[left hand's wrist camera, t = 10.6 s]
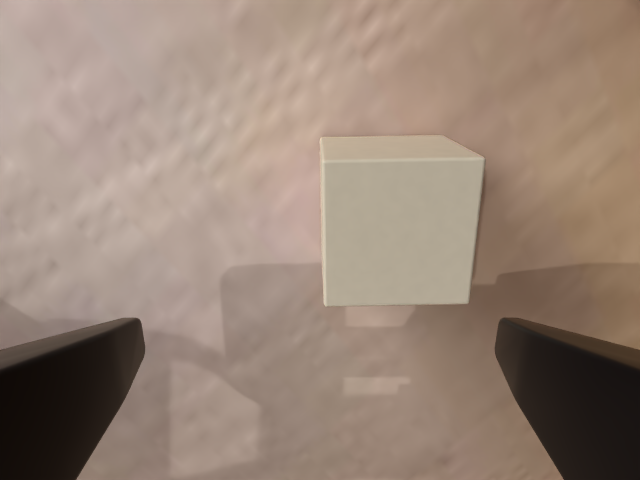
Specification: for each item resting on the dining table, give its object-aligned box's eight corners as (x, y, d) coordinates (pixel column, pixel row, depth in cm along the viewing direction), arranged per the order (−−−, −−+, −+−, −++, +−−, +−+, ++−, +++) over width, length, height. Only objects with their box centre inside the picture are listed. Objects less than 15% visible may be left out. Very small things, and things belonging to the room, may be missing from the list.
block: (319, 136, 16) (321, 160, 12) (443, 134, 16) (487, 157, 12) (321, 253, 17) (324, 308, 13) (434, 251, 17) (469, 305, 14)
